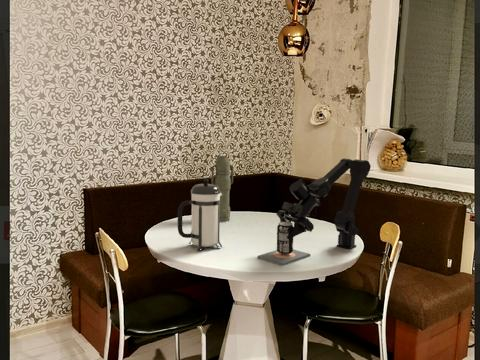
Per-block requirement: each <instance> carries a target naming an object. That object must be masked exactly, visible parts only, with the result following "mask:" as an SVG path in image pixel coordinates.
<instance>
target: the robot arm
mask: <svg viewBox="0 0 480 360" xmlns="http://www.w3.org/2000/svg"><path fill="white" fill-rule="evenodd" d="M371 166H372V165H371V164H370V162H369V161H368V160H365V159H351V158H350V159H349V158H342V159H340V160H339V162H338V163H337V164H336V165H335V166H333V168H331V170H330V171H328V172H327V173H326V174H325V175H323V177H321V178H317V179H315V180H314V181H312V182H311V183H310V184H308V185H307V183H306V182H305V180H304V179H301V178H299V180H296V181H295V182H293V183H292V184H290V186H289V191H290V192H291V194H292V195H293V196H294V197H295V198H296V199H297V201H299V203H297V202H294V203H291V202H287V201H284V202H283V204H282V206H281V210H278V211H277V212H276V216H277V217H278V218H279V221H280V222H291V223H293V228H292V230H291V231H290V233H289V235H288V236H287V239H291V238H293V239H294V237H297V236H298V235H301V234H303V233H306V232H309V233H311V232H312V231H313V230H314V226H315V225H314V224H313V223H312V221H311V220H310V219H309V218H307V217H311V216H312V214H311V213H310V212H311V211H313V209H314V207H316V206H318V207H320V206H321V201H320V199H319V198H325V197H326V196H327V195H328V193H329V192H330V191H331V188H332V186H333V184H334V183H336V182H337V181H338V180H339V179H340V178H341V177H342V176H343V175H344V174H345V173H346V172H347V171H349V175H350V181H349V184H348V189H347V190H346V191H347V192H346V196H345V199H344V202H343V206H342V209H341V210H340V211H336V213H335V217H334V218H333V221H334V226H335V230H336V232H339V234H338V237H337V244H336V247H339V248H343V249H346V250H347V249H348V250H351V249H354V248H356V247H357V245H356V244H355V242H356V236H358V235H359V232H360V229H359V228H358V226H357V225H356V224H355V223H356V216H355V209H356V206H357V203H358V202H357V201H358V198H359V195H360V190H361V187H362V184H363V181H365V179H366V178H367V177H368V175H369V173H370V171H371Z"/></svg>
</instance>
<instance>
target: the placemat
mask: <svg viewBox="0 0 480 360" xmlns="http://www.w3.org/2000/svg"><path fill="white" fill-rule="evenodd" d="M309 257H311V253H309V252H305V251H300V250H297V249H294V248H293V251H292V253H290V254H281V253H279V252H278V251H277V249H275V250H272V251H270V252H266V253H262V254H259V255H257V259H258V260H262V261H265V262H269V263H273V264H276V265H279V266H282V267H283V266H284V267H285V266H286V265H289V264H292V263H294V262H295V263H296V262H298V261H300V260H304V259H306V258H309Z"/></svg>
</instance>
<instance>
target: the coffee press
mask: <svg viewBox="0 0 480 360" xmlns="http://www.w3.org/2000/svg"><path fill="white" fill-rule="evenodd" d="M202 182H203V183H198V184H194V186H192V188H191V190H190V195H191V199H190V200H184V201H182V202H181V203H180V204H179V206H178V208H177V231H178V234H179V235H180V237H182V238H185V239H190V241H189V243H188V245H189V244H192V245H191V246H193V245H194V246H196V247H197V251H198V250H200V249H202V250H203V248H205V247H206V248H207V247H213V246H215V247H217V248H218V247H221V248H222V247H223V245H222V244H221V242H220V225H221V222H220V196H222V193H221V190H220V189H219V187H218V186H216V185H214V184H212V183H209V179H208V178H204V179H203V180H202ZM188 205H191V232H190V233H184V231H183V210H184V208H185V207H186V206H188Z"/></svg>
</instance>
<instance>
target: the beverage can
mask: <svg viewBox="0 0 480 360" xmlns="http://www.w3.org/2000/svg"><path fill="white" fill-rule="evenodd" d="M293 227H294V222H292V221H291V222H278V225H277V226H276V231H277V232H276V250H277V251H278V252H279V253H281V254H290V253H292V251H293V249H294V237H293V238H291V239H287V236H288V235H289V233H290V231H291V230H292V228H293Z"/></svg>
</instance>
